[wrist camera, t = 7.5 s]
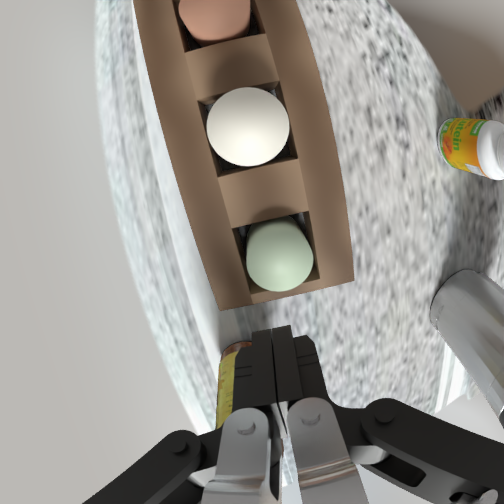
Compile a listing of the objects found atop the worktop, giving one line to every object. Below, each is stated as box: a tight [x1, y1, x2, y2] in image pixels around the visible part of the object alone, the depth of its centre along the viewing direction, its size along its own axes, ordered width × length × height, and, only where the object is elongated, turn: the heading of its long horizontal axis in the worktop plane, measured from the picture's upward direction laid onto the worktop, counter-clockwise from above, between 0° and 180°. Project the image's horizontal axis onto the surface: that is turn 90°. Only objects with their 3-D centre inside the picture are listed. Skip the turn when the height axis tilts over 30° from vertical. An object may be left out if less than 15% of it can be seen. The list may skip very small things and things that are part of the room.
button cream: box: [207, 87, 289, 166], centre depth 18 cm, size 5×5×5 cm
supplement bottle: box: [438, 118, 504, 180], centre depth 18 cm, size 5×5×10 cm
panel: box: [133, 0, 354, 311], centre depth 21 cm, size 12×28×4 cm, turn 14°
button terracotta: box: [179, 0, 250, 47], centre depth 16 cm, size 5×5×5 cm
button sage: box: [247, 216, 313, 292], centre depth 24 cm, size 5×5×5 cm
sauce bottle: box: [215, 341, 284, 459], centre depth 23 cm, size 7×6×20 cm
